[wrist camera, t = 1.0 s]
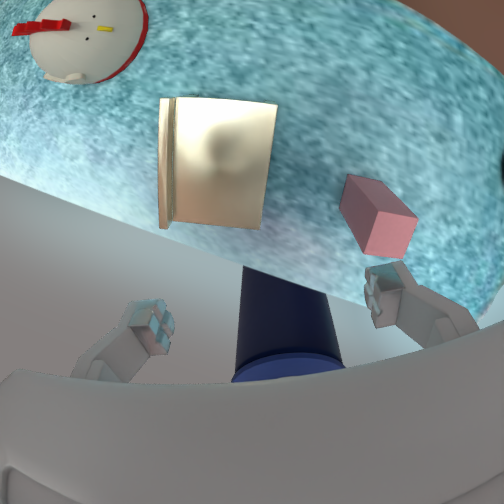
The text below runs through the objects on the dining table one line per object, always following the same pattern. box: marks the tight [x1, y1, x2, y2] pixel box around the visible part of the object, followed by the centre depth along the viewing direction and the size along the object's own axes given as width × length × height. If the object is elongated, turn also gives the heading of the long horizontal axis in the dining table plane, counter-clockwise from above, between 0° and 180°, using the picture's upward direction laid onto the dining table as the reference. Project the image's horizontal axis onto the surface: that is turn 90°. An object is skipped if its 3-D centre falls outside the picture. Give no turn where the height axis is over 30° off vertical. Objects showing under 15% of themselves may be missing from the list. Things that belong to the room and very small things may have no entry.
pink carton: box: [339, 174, 418, 259], centre depth 31 cm, size 5×5×11 cm
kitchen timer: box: [12, 0, 148, 84], centre depth 17 cm, size 14×14×15 cm
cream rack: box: [158, 94, 278, 230], centre depth 30 cm, size 14×11×8 cm
